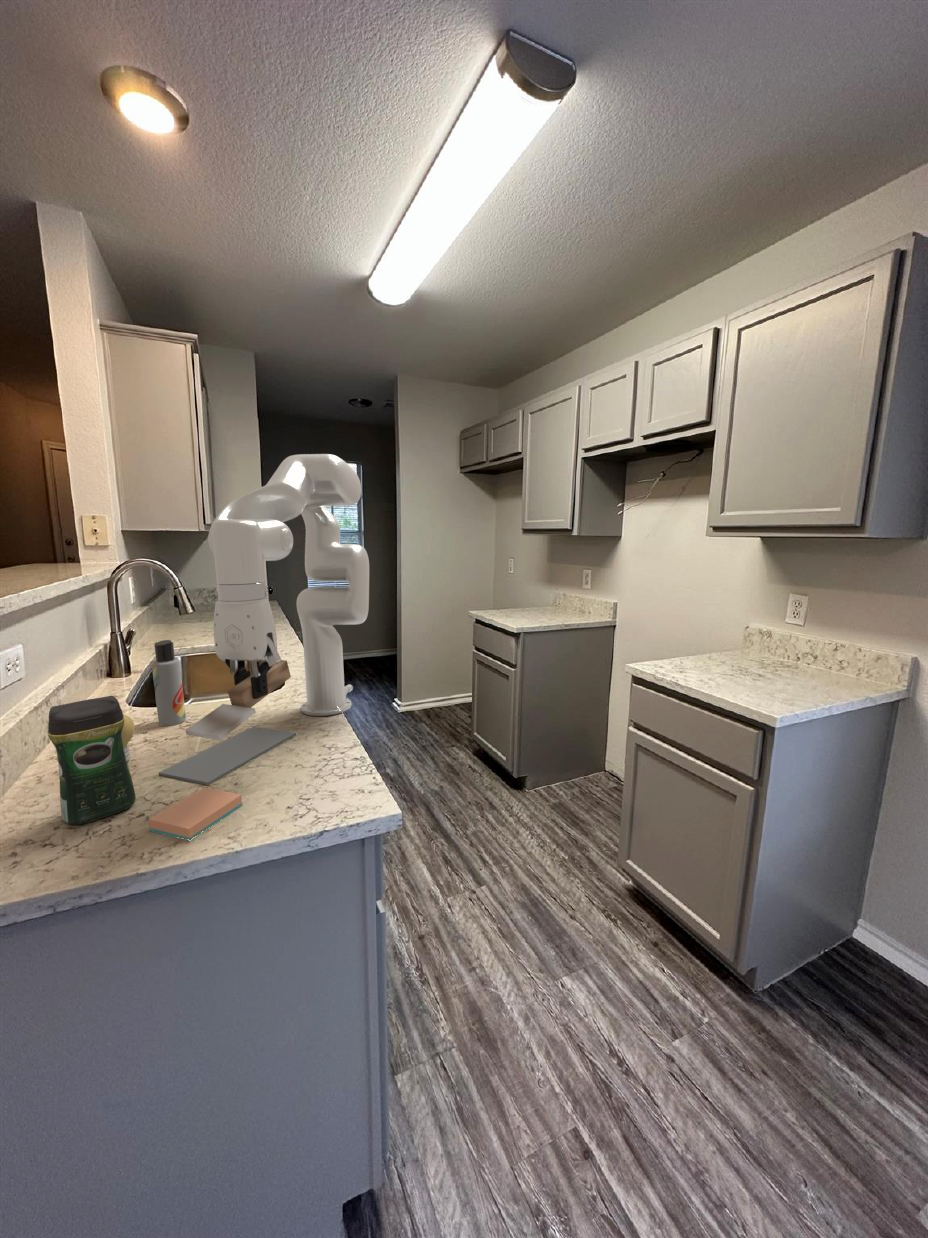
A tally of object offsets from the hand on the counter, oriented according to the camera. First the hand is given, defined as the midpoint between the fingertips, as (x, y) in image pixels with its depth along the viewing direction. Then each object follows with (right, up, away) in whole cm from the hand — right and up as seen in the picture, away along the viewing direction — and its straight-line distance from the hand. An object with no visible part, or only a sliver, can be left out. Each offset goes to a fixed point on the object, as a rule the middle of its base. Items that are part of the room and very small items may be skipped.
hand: (252, 694), depth 86 cm
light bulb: (-30, -15, +9) cm, 35 cm away
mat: (-10, -14, +13) cm, 22 cm away
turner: (0, -2, -1) cm, 2 cm away
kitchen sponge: (-3, -16, -5) cm, 17 cm away
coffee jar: (-21, -18, -8) cm, 29 cm away
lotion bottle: (-33, -12, +31) cm, 47 cm away
